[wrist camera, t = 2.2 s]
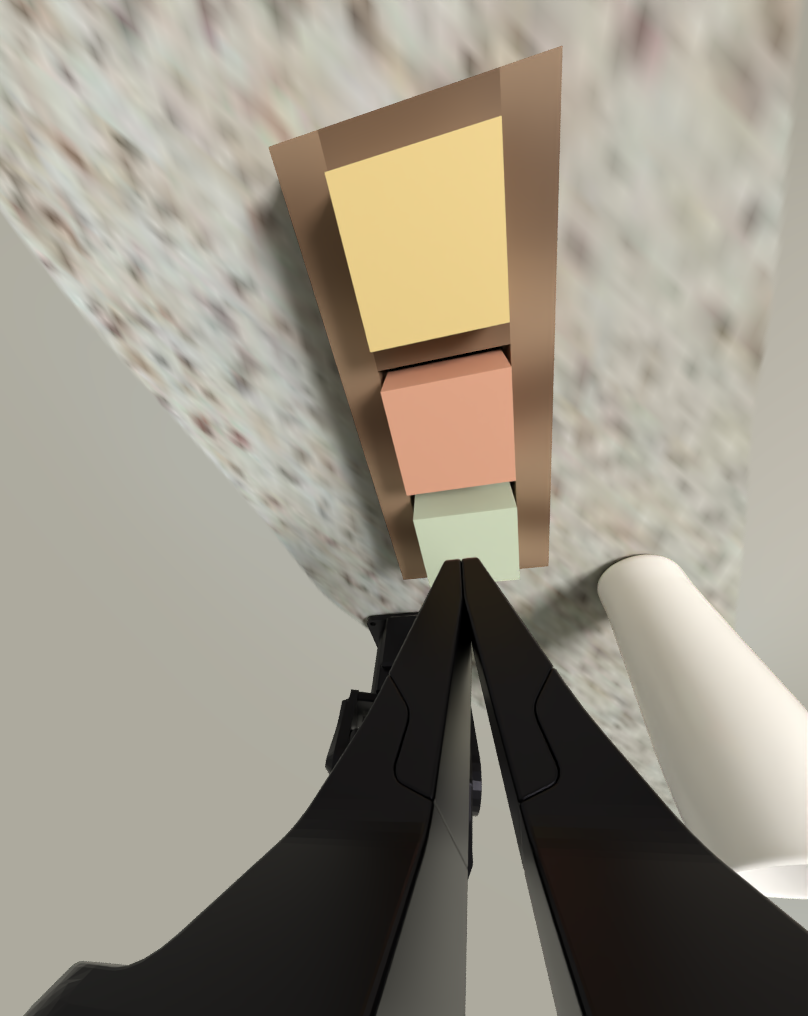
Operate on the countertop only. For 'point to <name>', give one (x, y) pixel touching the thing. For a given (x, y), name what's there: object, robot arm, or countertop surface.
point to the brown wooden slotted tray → (525, 339)
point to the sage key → (469, 529)
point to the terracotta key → (452, 422)
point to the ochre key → (427, 236)
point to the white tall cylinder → (715, 723)
